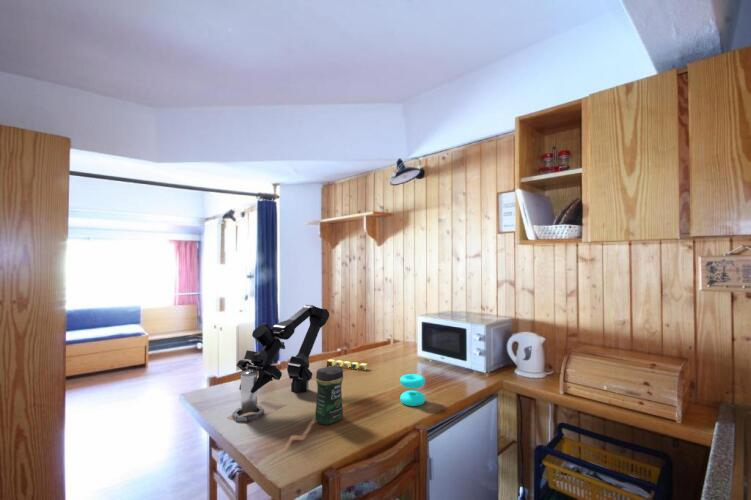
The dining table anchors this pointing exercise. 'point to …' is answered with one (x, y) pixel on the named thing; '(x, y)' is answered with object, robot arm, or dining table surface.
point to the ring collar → (247, 418)
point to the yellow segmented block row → (347, 364)
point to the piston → (248, 390)
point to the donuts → (412, 396)
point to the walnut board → (266, 405)
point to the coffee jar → (329, 395)
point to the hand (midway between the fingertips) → (245, 391)
